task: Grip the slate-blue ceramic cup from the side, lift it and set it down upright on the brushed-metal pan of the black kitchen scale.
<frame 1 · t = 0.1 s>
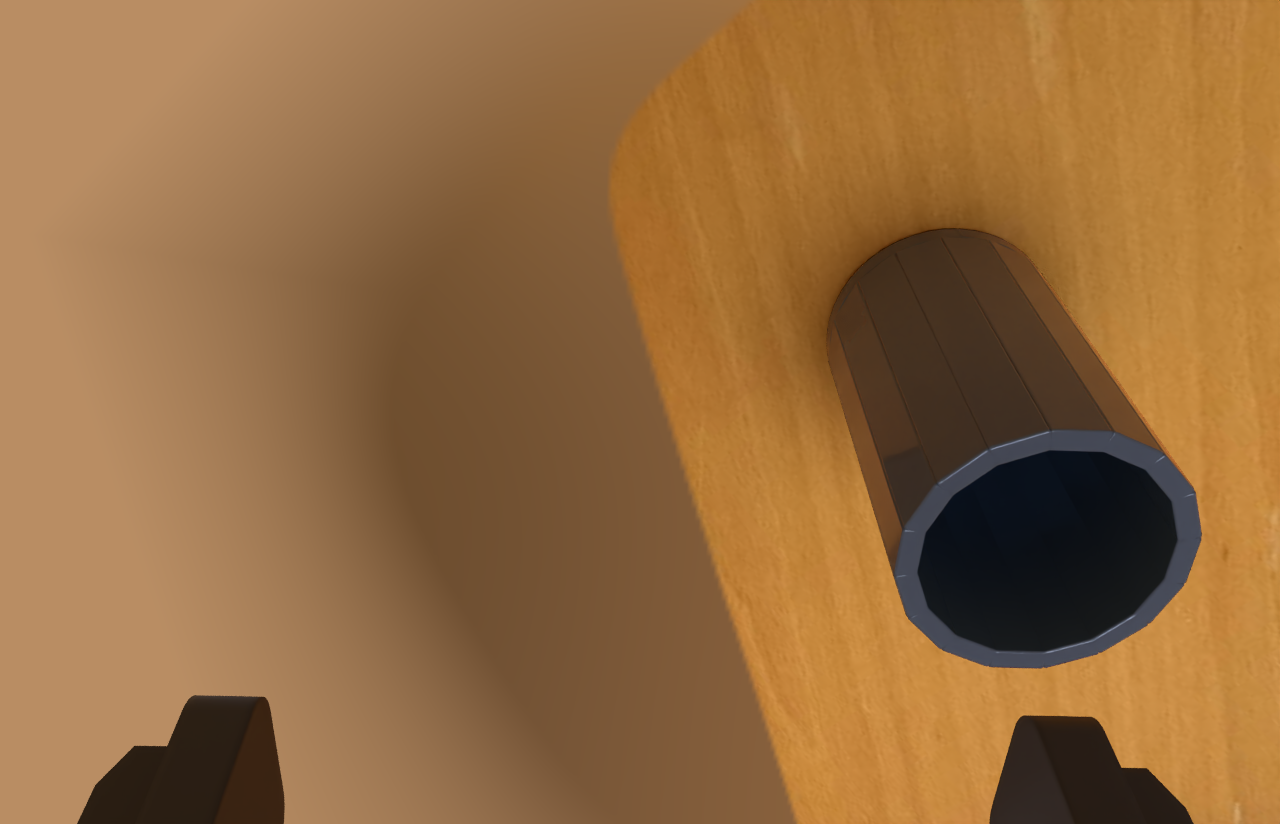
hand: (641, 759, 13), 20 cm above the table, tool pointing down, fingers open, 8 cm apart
cup: (938, 332, 33), on the table
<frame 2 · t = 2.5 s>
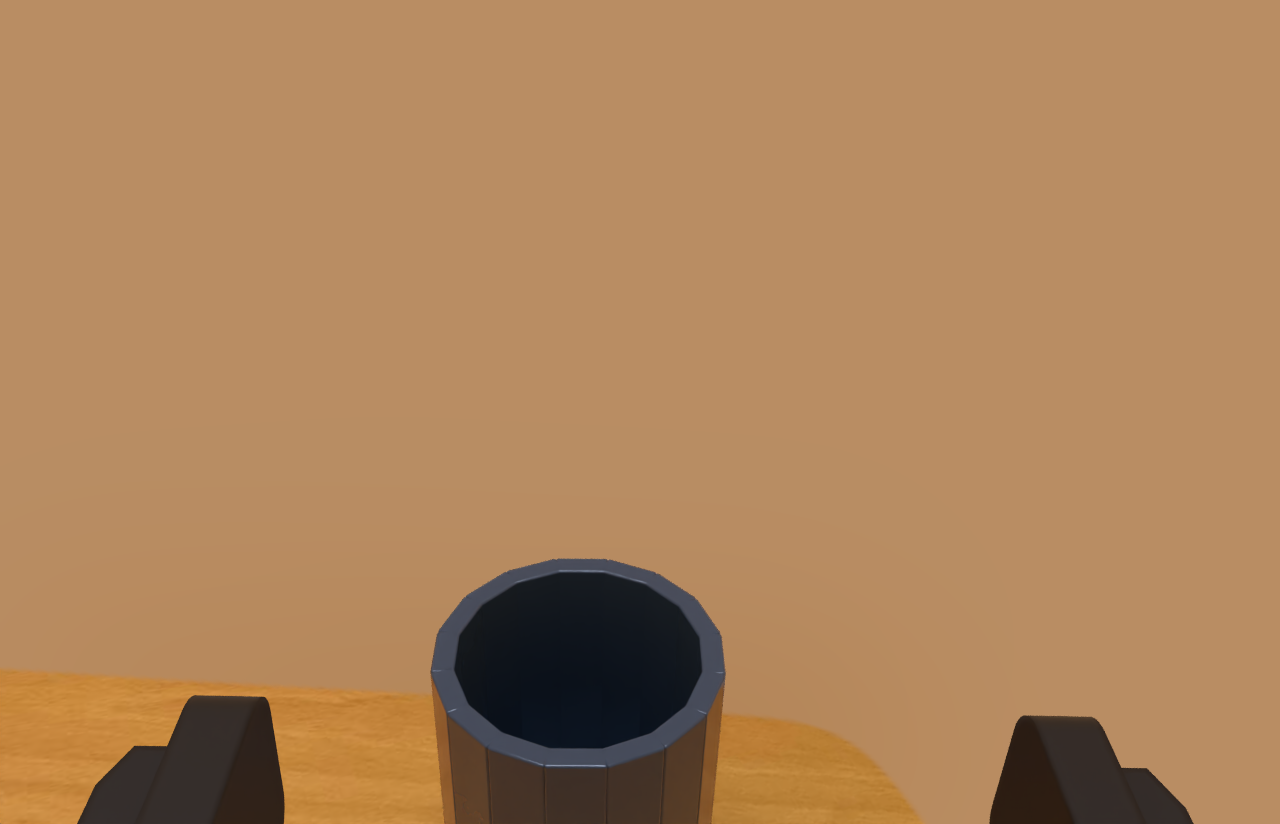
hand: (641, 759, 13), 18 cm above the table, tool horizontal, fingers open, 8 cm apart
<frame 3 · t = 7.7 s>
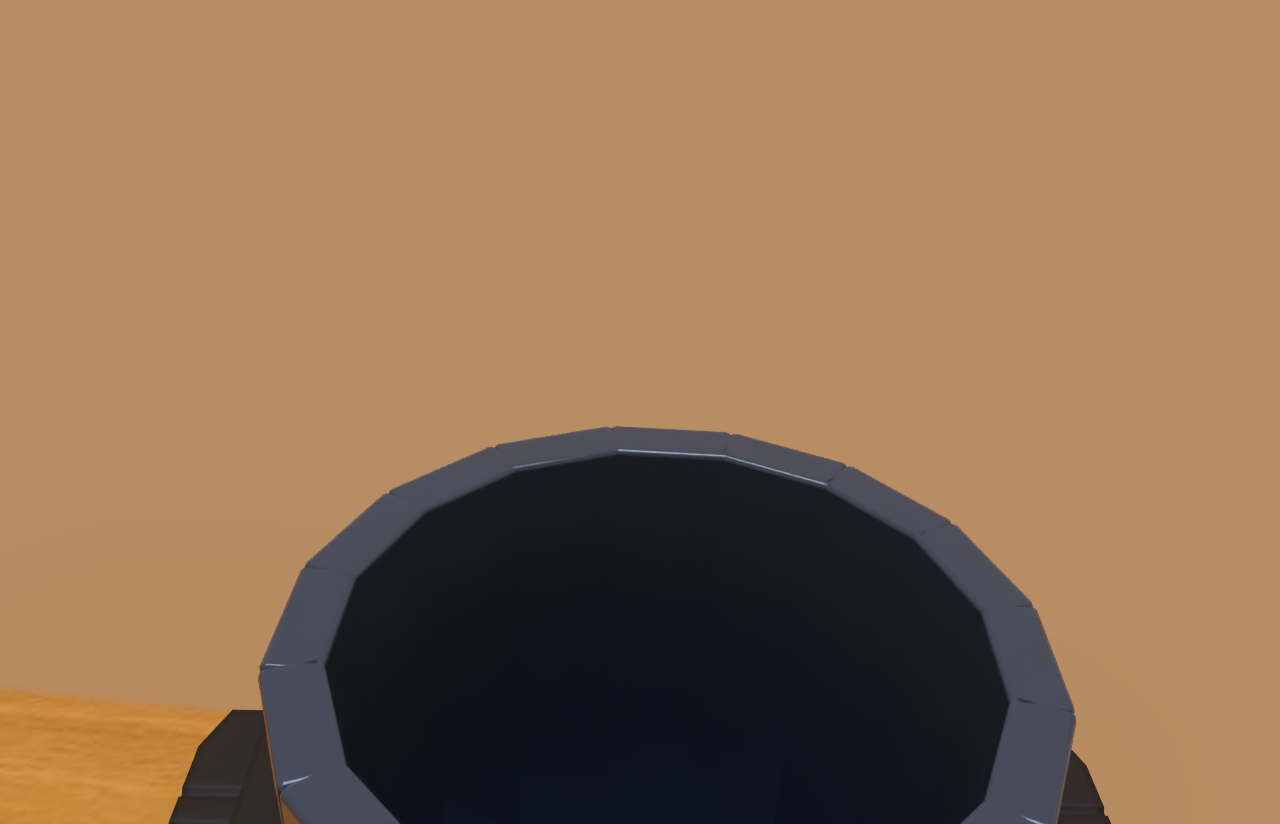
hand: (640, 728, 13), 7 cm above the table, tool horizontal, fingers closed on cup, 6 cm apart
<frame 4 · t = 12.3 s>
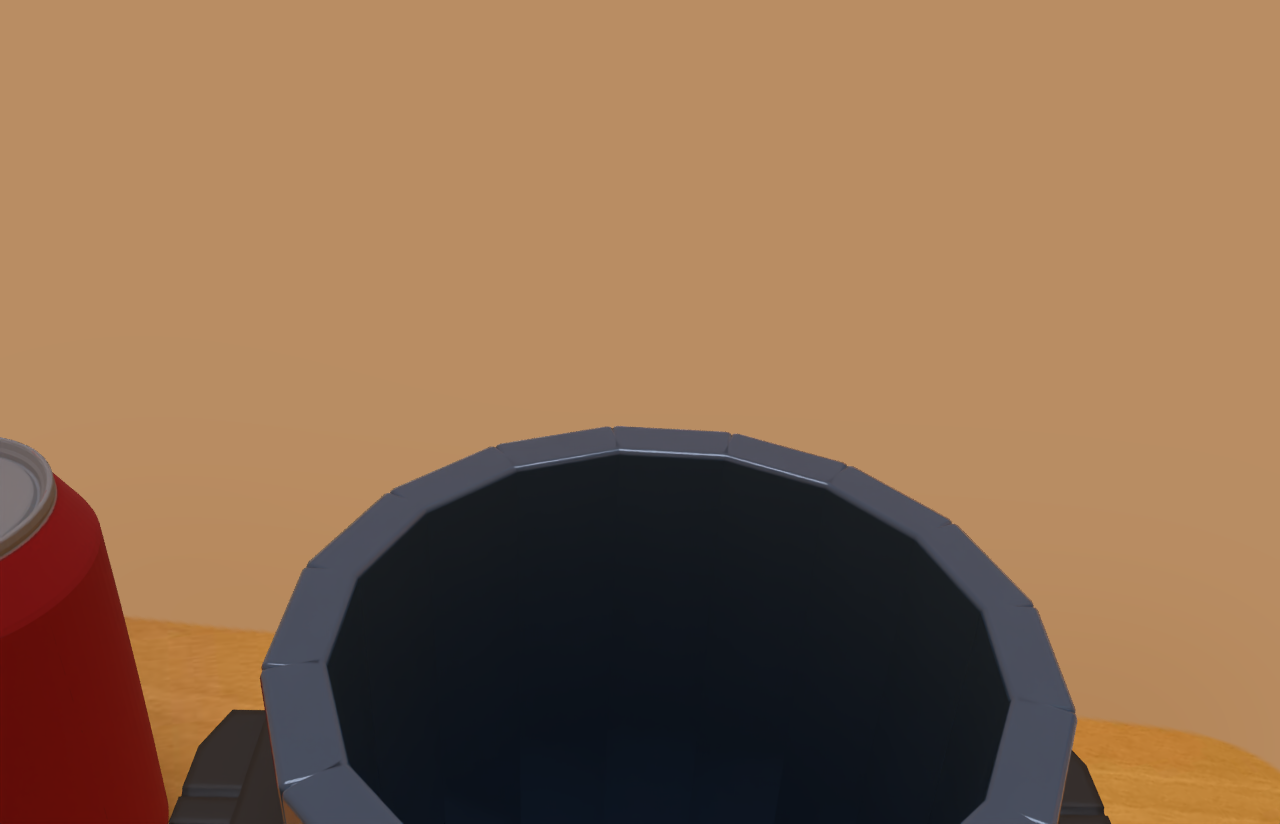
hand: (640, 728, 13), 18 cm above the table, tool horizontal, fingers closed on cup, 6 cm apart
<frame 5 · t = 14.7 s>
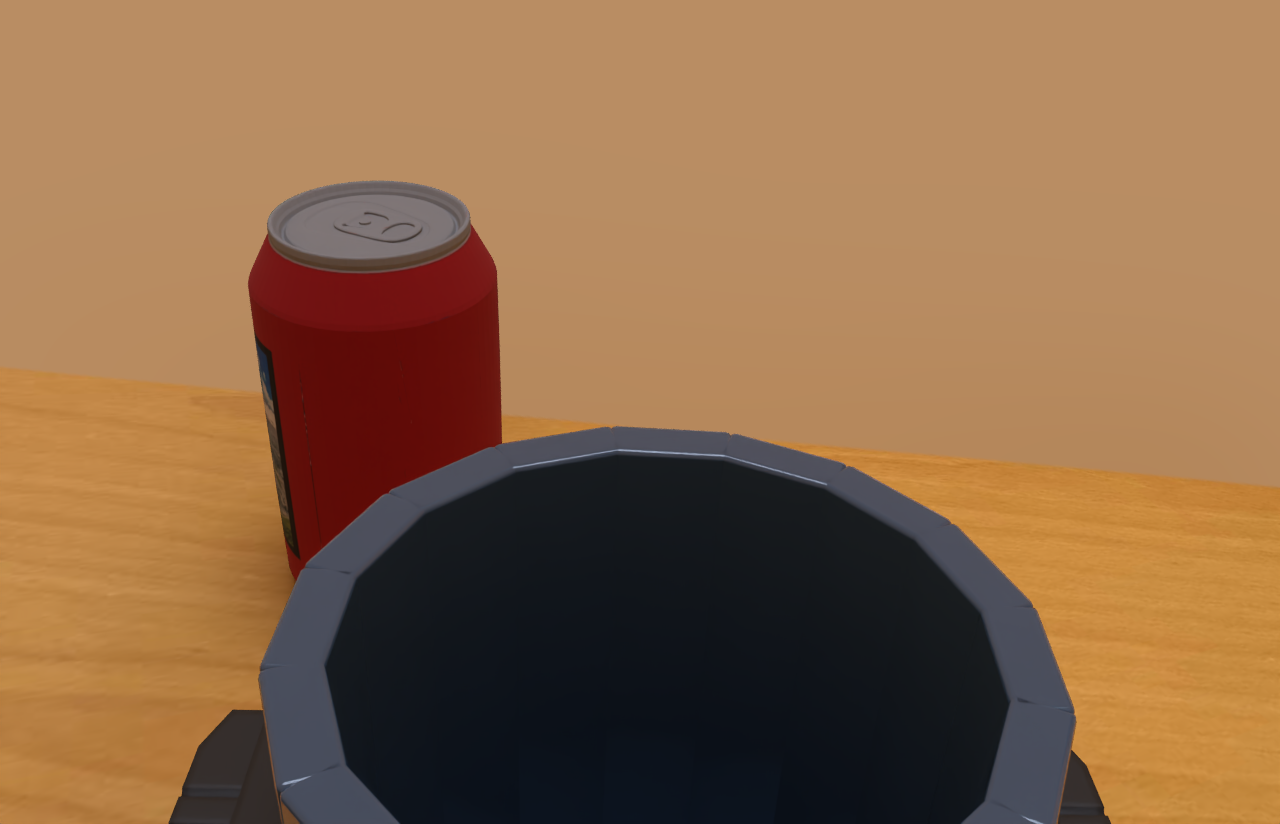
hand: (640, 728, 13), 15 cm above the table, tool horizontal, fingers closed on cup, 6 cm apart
beverage can: (399, 570, 39), on the table
when the fingers open (10 cm above the table, at t = 16.8 s): cup stays where it is, resting on scale.
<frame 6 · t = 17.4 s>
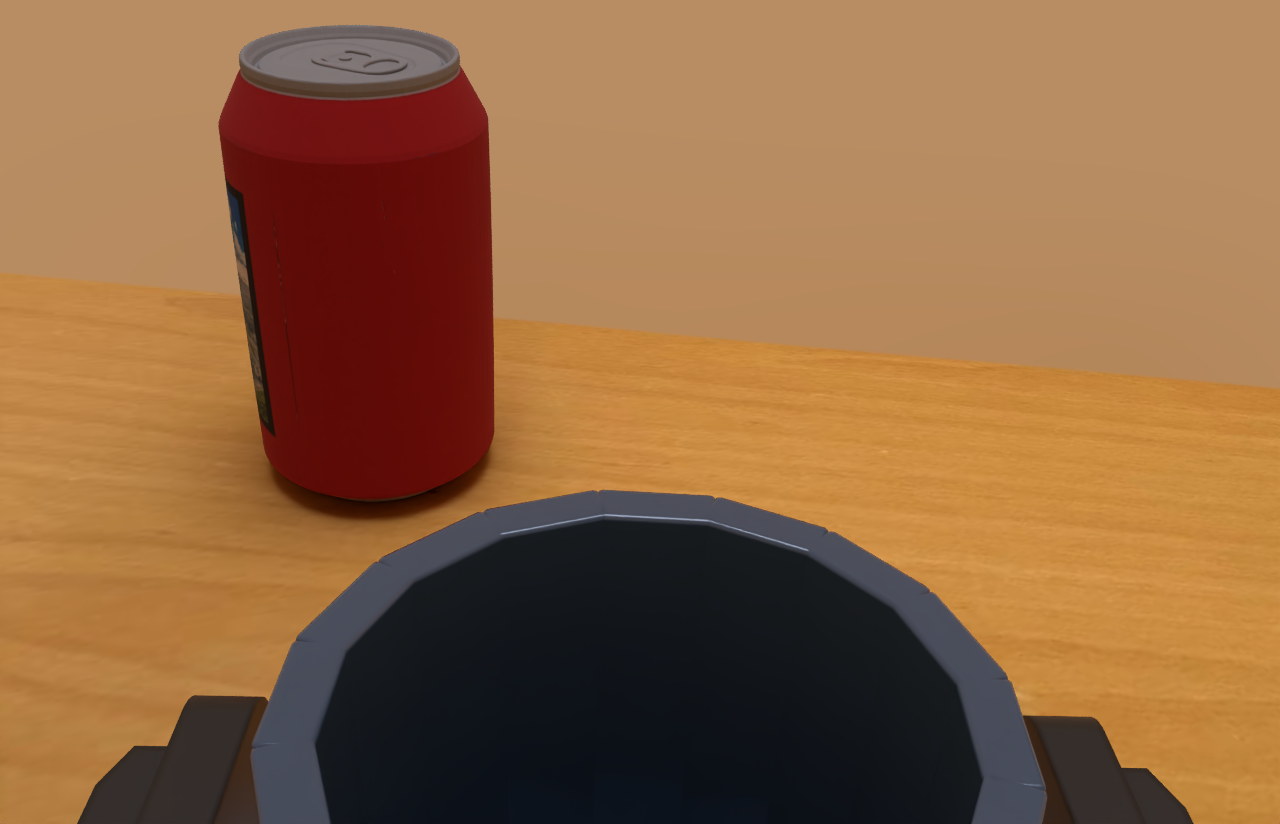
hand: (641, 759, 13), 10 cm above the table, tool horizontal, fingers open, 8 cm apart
beverage can: (383, 460, 36), on the table
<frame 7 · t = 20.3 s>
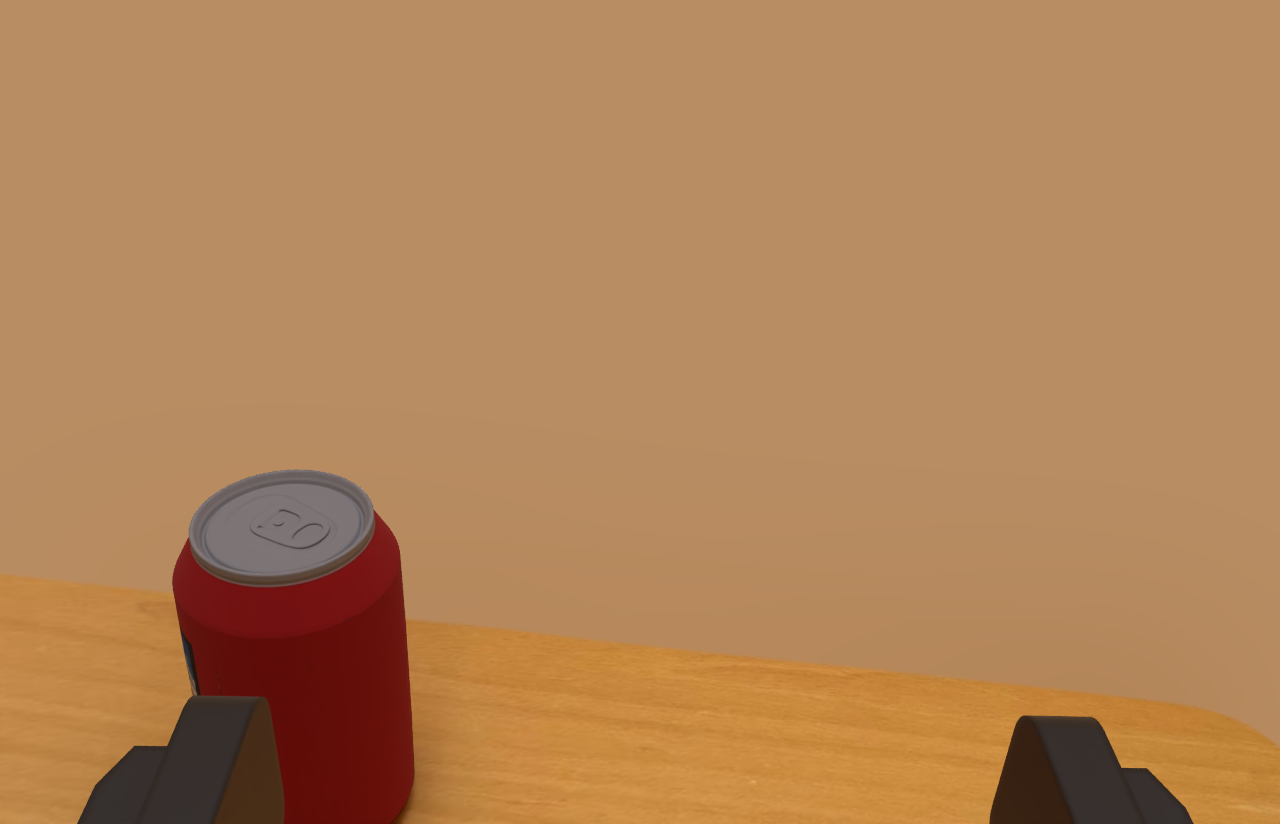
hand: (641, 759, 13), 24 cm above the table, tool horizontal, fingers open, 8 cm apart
beverage can: (319, 800, 42), on the table
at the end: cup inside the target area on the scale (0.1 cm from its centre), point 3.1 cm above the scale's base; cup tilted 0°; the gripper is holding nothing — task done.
